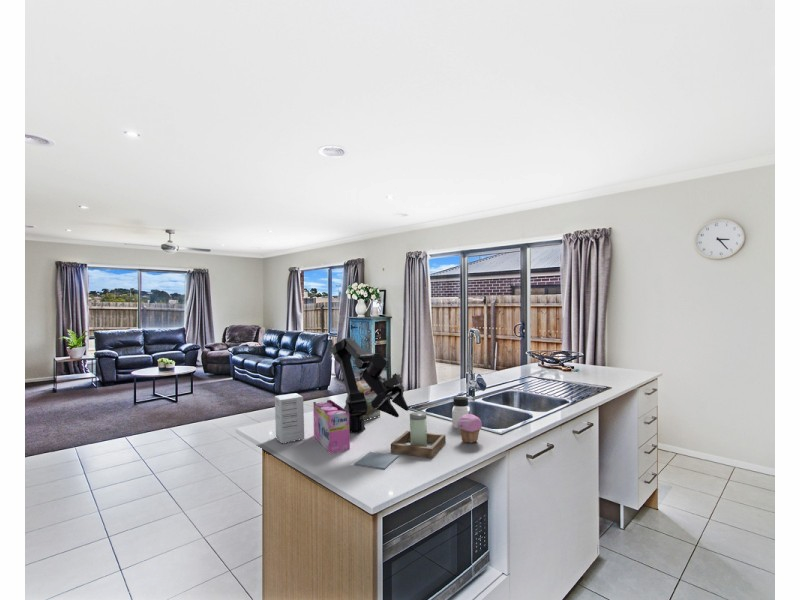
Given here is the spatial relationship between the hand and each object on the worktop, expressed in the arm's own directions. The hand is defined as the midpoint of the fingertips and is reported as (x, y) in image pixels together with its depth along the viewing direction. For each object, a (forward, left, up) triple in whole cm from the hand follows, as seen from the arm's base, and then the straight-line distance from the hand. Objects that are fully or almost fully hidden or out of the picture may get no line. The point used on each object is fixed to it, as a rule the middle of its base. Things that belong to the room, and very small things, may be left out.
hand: (403, 413), depth 146 cm
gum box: (-28, -5, -12) cm, 31 cm away
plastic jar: (+6, 0, -12) cm, 13 cm away
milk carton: (-32, +29, -12) cm, 45 cm away
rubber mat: (-3, -16, -12) cm, 20 cm away
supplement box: (-46, -7, -12) cm, 48 cm away
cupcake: (+22, +12, -12) cm, 28 cm away
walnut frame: (+6, 0, -12) cm, 13 cm away
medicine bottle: (+14, +30, -12) cm, 35 cm away
